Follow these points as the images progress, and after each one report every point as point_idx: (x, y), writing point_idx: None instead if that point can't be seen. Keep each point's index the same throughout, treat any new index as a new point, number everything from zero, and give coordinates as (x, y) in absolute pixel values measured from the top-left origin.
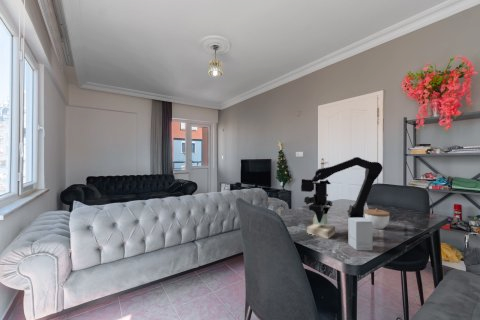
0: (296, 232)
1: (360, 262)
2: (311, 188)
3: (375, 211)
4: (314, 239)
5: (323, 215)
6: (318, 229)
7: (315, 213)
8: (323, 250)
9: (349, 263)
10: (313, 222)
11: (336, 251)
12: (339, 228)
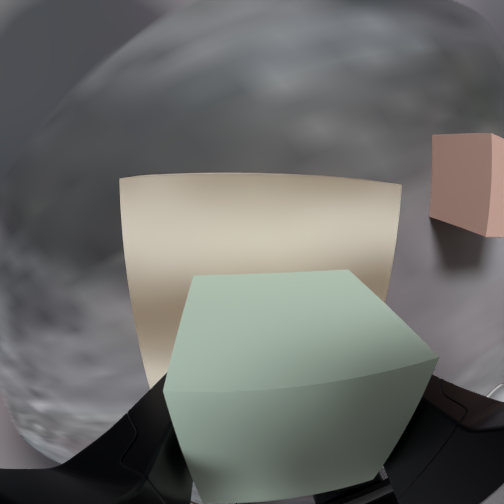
0: (124, 77)
1: (58, 460)
2: None
3: None
4: (74, 291)
5: (210, 499)
6: (141, 328)
7: (76, 456)
8: (10, 371)
9: (25, 438)
10: (455, 138)
11: (50, 414)
12: (453, 326)
